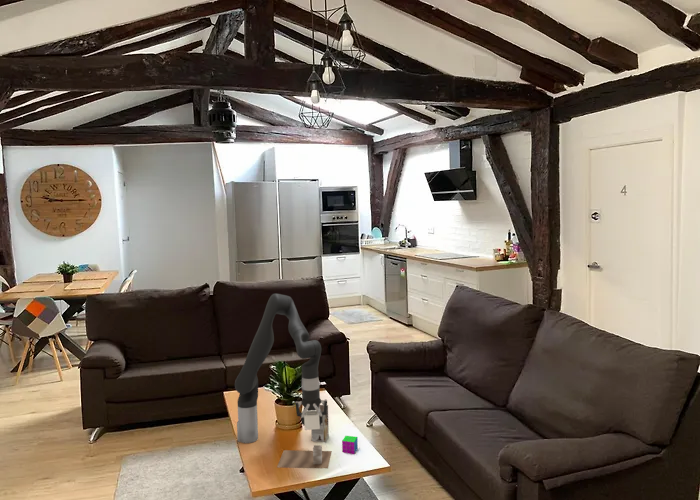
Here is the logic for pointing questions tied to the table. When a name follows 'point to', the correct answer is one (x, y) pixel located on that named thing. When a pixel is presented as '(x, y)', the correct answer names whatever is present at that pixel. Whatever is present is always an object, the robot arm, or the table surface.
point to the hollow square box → (311, 420)
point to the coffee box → (321, 428)
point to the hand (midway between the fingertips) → (312, 424)
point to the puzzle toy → (349, 444)
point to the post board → (305, 458)
